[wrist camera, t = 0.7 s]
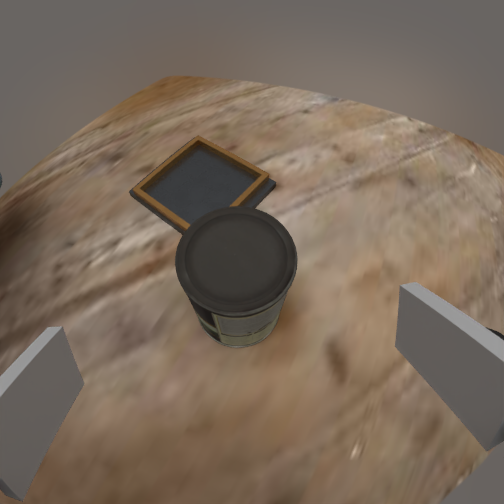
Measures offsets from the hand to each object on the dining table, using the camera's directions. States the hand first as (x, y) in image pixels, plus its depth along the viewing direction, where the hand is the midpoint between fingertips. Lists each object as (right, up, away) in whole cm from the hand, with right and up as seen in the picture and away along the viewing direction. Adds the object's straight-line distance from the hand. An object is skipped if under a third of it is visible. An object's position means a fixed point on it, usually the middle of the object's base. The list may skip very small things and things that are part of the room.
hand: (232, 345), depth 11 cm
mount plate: (-7, +13, +37) cm, 39 cm away
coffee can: (-1, -4, +28) cm, 28 cm away
